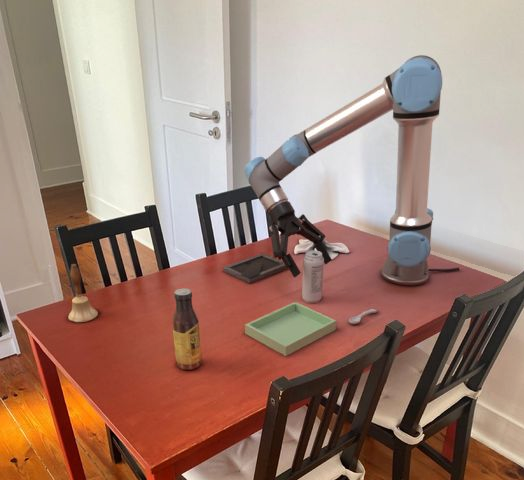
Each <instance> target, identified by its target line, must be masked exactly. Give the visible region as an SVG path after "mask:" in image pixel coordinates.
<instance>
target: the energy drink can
mask: <svg viewBox="0 0 524 480" xmlns="http://www.w3.org/2000/svg"><path fill="white" fill-rule="evenodd" d="M302 258H303V259H302V285H301V298H302V300H303V301H304V302H305V303H308V304H317V303H319V302H320V301H321V300H322V297H323V283H324V267H325V266H324V265H325V264H324V258H323V256H322V253H321V252H320V251H315V250H312V251H307V252H306V253H305V255H304V257H302Z"/></svg>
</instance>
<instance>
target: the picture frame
mask: <svg viewBox="0 0 524 480" xmlns="http://www.w3.org/2000/svg"><path fill="white" fill-rule="evenodd" d="M222 269H223V273H226V274H228V275H230V276H232V277H234V278H237V279H239V280H241V281H243V282H245V283H247V284H253V283H255V282H258V281H260V280H262V279H265V278H267V277H269V276H272V275H275V274H277V273H280V272H283V271H284V270H287V269H289V268H288V267H286V266H285V264H284V262H283V260H279V259H278V258H274V256H271V255H268V254H265V253H263V252H262V253H261V252H260V253H259V254H255V255H252V256H251V257H248V258H245V259H242V260H239V261H236V262H234V263H232V264H229V265H225V266H223V267H222Z"/></svg>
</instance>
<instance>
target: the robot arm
mask: <svg viewBox="0 0 524 480" xmlns="http://www.w3.org/2000/svg"><path fill="white" fill-rule="evenodd" d="M442 88H443V75H442V70H441V67H440V65H439V63H438V62H437V61H436V60H435V59H434V58H432V57H431V56H428V55H422V54H421V55H415V56H412V57H410V58H408V59H407V60H406V61H405V62H404V63H403V64H402V65H401V66H400V67H399V68H397V69H396V70H394V71H393V72H392V73H390V74H388V75H386V76H385V77H383V81H382V83H381V84H379V85H377V86H376V87H374V88H372V89H370V90H369V91H368V92H365V93H363V95H361V96H359V97H357V98H356V99H354V100H352V101H351V102H349V103H348V104H345V105H344V106H342V107H340V108H339V109H337V110H335V111H334V112H332V113H330V114H328V115H327V116H325V117H324V118H322V119H320V120H319V121H316V122H315V123H314V124H312V125H311V126H309V127H307V128H305V129H303V130H302V131H300V132H299V133H297V134H293V135H292V136H291V137H289V139H287V140H286V141H285V142H283V144H282V145H280V146H279V147H278V148H277V149H276V150H275V151H274V152H273V153H271V154H270V155H269V156H268V157H267V158H264V157H263V156H257V157H255V158H253V159H251V160H249V161H248V162H247V163H246V165H245V166H244V168H243V173H244V175H245V177H246V179H247V182H248V184H249V186H250V187H251V188H252V190H253V192H254V193H255V196H256V197H257V198H258V200H259V202H260V204H261V205H262V207H263V209H264V211H265V212H266V213H267V216H268V218H269V220H270V222H271V223H272V224H271V225H270V226H269V228H267V230H268V233H269V235H270V239H271V248H272V254H273V256H272V257H273V258H275V259H278V260H280V261H283V262H284V264H285V266H286V267H288V268H287V269H288V270H289V272H290V273H291V275H292V277H293V278H296V277H298V276H299V275H300V274H301V273H302V272H301V270H300V269H299V267H298V265H297V263H296V262H295V260H294V258H293V257H292V255H291V253H288V245H289V237H291V236H295V235H298V236H301V237H303V238H304V239H305V240H309V241H311V242H313V243H314V244H316V245H315V248H316V250H317V251H320V252H321V253H322V256H323V258H324V265H328V264H329V263H330V262H331V261H332V260H333V259H331V258H330V256H329V254H328V252H327V249H326V247H325V245H324V243H323V240H324V239H325V238H326V235H325V234H324V233H323V232H322V231H321V230H320V229H318V227H316V226H315V224H313V223H312V222H311V221H309V219H308V218H307V217H306V215H305V214H301V215H300V216H299V217H297V216H296V211H295V209H294V206H293V205H292V203H291V202H290V201H289V198H288V196H287V195H286V193H285V191H284V189H283V188H282V186H281V184H280V183H281V182H282V181H283V180H284V179H285V178H286V177H287V176H289V175H290V174H291V173H293V172H294V171H295V170H296V169H297V168H298V167H301V166H302V165H303V164H304V163H305V161H307V160H308V159H309V158H310V157H312V156H313V155H315V154H317V153H318V152H320V151H322V150H324V149H326V148H327V147H329V146H331V145H332V144H335V143H336V142H338V141H339V140H341V139H343V138H345V137H348V135H351V134H353V133H354V132H356V131H357V130H359V129H361V128H363V127H365V126H367V125H368V124H370V123H372V122H374V121H375V120H377V119H379V118H381V117H383V116H384V115H387V114H388V113H390V112H392V119H393V120H394V121H395V122H396V123H397V125H398V128H397V129H398V130H397V163H396V189H395V190H396V191H395V192H396V194H395V195H396V196H395V197H396V198H395V211H394V214H393V215H392V216H391V217H390V220H389V242H388V245H387V253H388V255H387V256H386V259H385V261H384V263H383V265H382V267H381V273H380V276H381V277H382V279H383V280H385V281H386V282H388V283H390V284H394V285H398V286H403V287H414V286H421V285H424V284H426V283H427V282H428V281H429V279H430V272H438V273H439V272H440V273H441V272H443V273H444V272H445V273H446V272H454V271H455V272H456V271H460V267H453V268H452V267H451V268H429V264H428V258H429V256H430V254H431V250H432V246H431V241H432V240H431V239H432V225H433V221H434V211H433V210H432V209H431V208H428V202H429V201H428V200H429V185H430V171H431V170H430V168H431V167H430V166H431V153H432V152H431V151H432V139H433V138H432V137H433V136H432V135H433V123H434V121H436V119H437V118H438V117H439V116H440V107H441V92H442Z"/></svg>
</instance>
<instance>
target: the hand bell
mask: <svg viewBox="0 0 524 480" xmlns="http://www.w3.org/2000/svg"><path fill="white" fill-rule="evenodd" d="M70 278H71V281H72V283H73V285H74V290H75V296H74V297H73V298H72V300H71V311H70V312H69V314H68V316H67V317H68V321H71V322H74V323H86V322H90V321H92V320H94V319H96V318H97V317H98V315H99V312H98V311H97V310H96V309H95V308H94V307H93V306H92V305H91V303H90V300H89V298H88V297H87V296H86V295H83V291H82V287H81V282H82V275H81V272H80V270H79V268H78V266H77V264H76V263H71V264H70Z"/></svg>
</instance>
